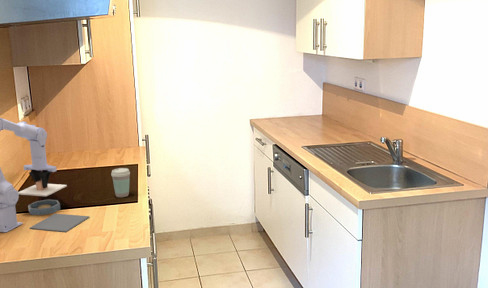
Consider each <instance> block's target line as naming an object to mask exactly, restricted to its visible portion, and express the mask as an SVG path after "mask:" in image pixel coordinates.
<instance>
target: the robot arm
mask: <svg viewBox="0 0 488 288" xmlns="http://www.w3.org/2000/svg"><path fill="white" fill-rule="evenodd" d="M4 130H5V131H9V132H13V134H14V136H16V137H18V138H19V137H20V138H23V139H26V140H27V142H28V141H29V148H30V150H29V151H30V157H31V158H30V159H31V164H25V165H23V171H29V172H28V174H29V175H30V177H31V179H32V180H33V181H34V185H36V182H37V181H39V180H42V186H43V188H46V187H47V186H48V184H49V179H50V176H51V174H52V173H55V172H57V171H58V169H57V166H55V165H51V164H50V165H49V164H48V161H47V152H46V143H47V138H48V133H47V131H46V130H45V128H43V127H37V126H36V125H35V124H28V122H27V121H23V120H22V121H20V122H17V123H15V122H14V121H11V120H8V119H5V118H2V117H0V132H1V131H4ZM18 192H19V191H18V189H17V190H16V189H15V188H14V185H13V184H12V183H11V182H10V181H8V180H7V179H6V177H5V175H4V173H3V171H2V168H1V167H0V233H8V232H10V231H11V230H14V229H15V228H17V227H20V226H21V225H23V224H24V223H23V221H22V222H21V221H18V218H17V211H16V205H17V202H18V201H19V199H20V198H19V197H20V196H19V195H20V194H18Z"/></svg>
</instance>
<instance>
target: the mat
mask: <svg viewBox="0 0 488 288" xmlns="http://www.w3.org/2000/svg"><path fill="white" fill-rule="evenodd" d="M88 219H90V215H89V216H88V215H80V214H79V215H77V214H68V213H67V214H65V213H56V212H54V213H52V215H50V216H48V217H46V218H45V219H43V220H41V221H39V222H37V223H36V224H33V225H31V226H30V227H29V230H38V231H47V232H58V233H68V232H69V231H70V230H72V229H74V228H76V226H78V225H80V224H82V223H83V222H85V221H86V220H88Z"/></svg>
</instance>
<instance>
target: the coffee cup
mask: <svg viewBox="0 0 488 288" xmlns="http://www.w3.org/2000/svg"><path fill="white" fill-rule="evenodd" d="M130 174H131V171H130V169H129V168H127V167H119V168H114V169H112V170H111V174H110V175H111V176H110V177H111V178H112V183H113V187H114V188H113V189H114V194H115V196H116V197H117V198H126V197H128V196H129V194H130V179H131V178H130V177H131V175H130Z"/></svg>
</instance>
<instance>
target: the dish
mask: <svg viewBox="0 0 488 288" xmlns="http://www.w3.org/2000/svg"><path fill="white" fill-rule="evenodd" d="M27 208H28V212H29V215H35V216H44V215H49V214H55V213H56V212H57V211H60V210H61V203H60V201H59V200H58V199H43V200H37V201H34V202H32V203H30V204H28V205H27Z"/></svg>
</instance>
